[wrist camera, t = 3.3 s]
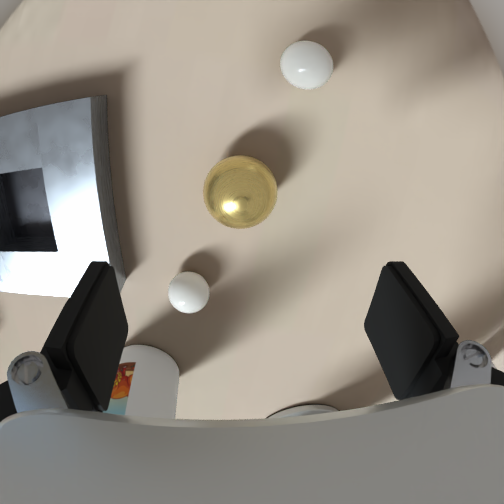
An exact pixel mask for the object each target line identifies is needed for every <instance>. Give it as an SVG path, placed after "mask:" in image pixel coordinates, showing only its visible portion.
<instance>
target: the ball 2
mask: <svg viewBox="0 0 504 504" xmlns="http://www.w3.org/2000/svg"><path fill="white" fill-rule="evenodd" d="M280 68H281V71H282V74H283V76H284V77H285V79H286V80H287V81H288V82H289V83H290V84H292V85H293V86H295V87H298V88H301V89H307V90H309V89H316V88H319V87H321V86H323V85H324V84H325V83H326V82H327V81H328V80H329V79H330V77H331V75H332V72H333V60H332V58H331V55H330V54H329V52H328V51H327V50H326V49H325V48H324V47H323V46H322V45H320V44H318V43H316V42H312V41H298V42H295V43H293V44H291V45H290V46H288V47H287V48H286V49H285V51H284V52H283V54H282V56H281V60H280Z"/></svg>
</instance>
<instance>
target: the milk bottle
mask: <svg viewBox="0 0 504 504" xmlns="http://www.w3.org/2000/svg"><path fill="white" fill-rule="evenodd" d="M178 384H179V369H178V366H177V364H176V362H175V361H174V359H173V358H171V357H170V356H169V355H168V354H167V353H165V352H163V351H161V350H160V349H157V348H154V347H151V346H147V345H130V346H127V347H124V349H123V352H122V356H121V360H120V363H119V367H118V371H117V374H116V378H115V382H114V386H113V390H112V394H111V398H110V403H109V407H108V410H107V411H103V413H110V414H118V415H128V416H140V417H153V418H168V419H175V415H176V404H177V394H178Z"/></svg>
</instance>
